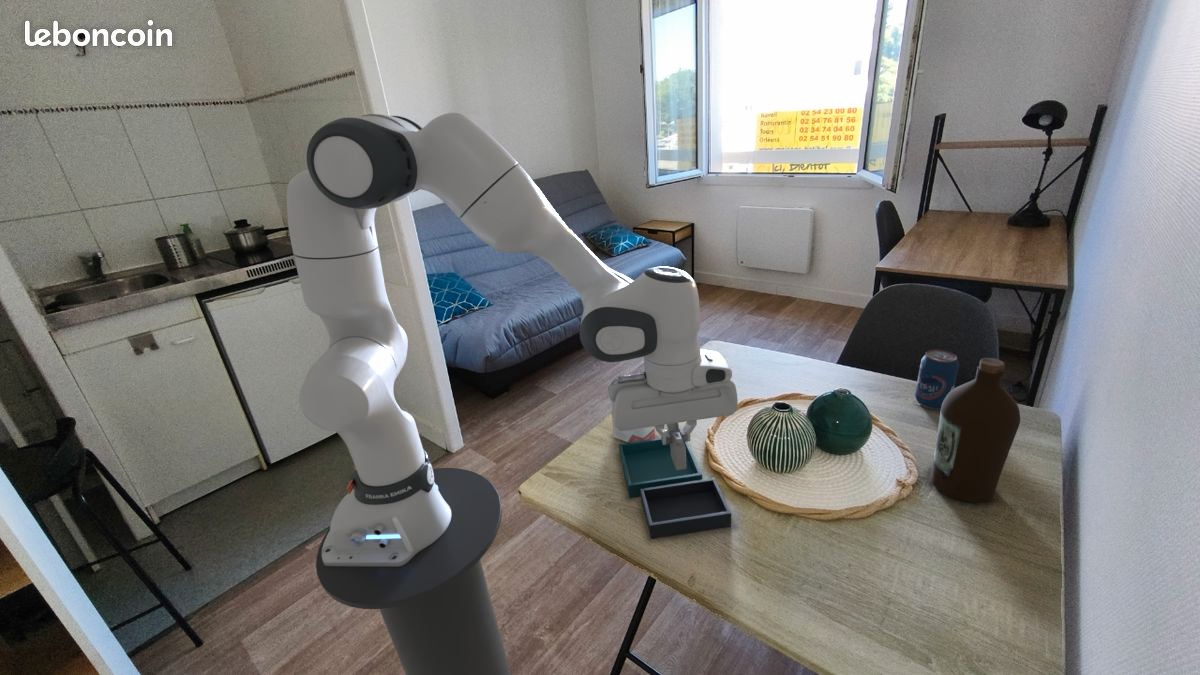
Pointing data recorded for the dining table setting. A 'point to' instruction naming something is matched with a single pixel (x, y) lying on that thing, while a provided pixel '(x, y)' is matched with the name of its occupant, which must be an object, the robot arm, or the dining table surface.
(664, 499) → the front tray
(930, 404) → the soda can
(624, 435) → the ink cartridge box
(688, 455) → the back tray
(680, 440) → the lighter
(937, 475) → the brown bottle
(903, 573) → the dining table surface
